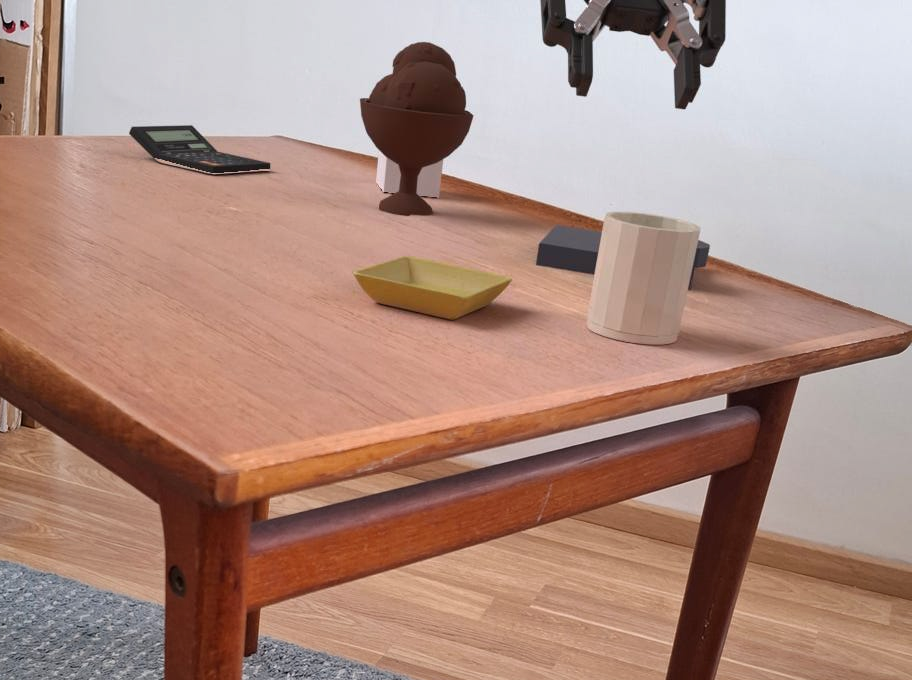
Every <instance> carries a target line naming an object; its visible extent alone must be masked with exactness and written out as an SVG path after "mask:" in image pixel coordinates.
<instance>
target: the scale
mask: <svg viewBox="0 0 912 680" xmlns="http://www.w3.org/2000/svg"><path fill="white" fill-rule="evenodd" d="M601 235H602V231H598V230H591V229H587V228H586V229H585V228H579V227H572V226H566V225H561V224H560V225H559V224H555V226H553V228H551V230H550V231H549V232H548V233H547V234H546V235H545V236H544V237H543V239H541V241H539V244H538V248H537V253H536V260H535V266H538V267H545V268H551V269H558V270H562V271H563V270H565V271H571V272H574V273H575V272H576V273H580V274H581V273H583V274H587V275H595V269H596V263H597V258H598V252H599V246H600V241H601ZM710 247H711V244H709V243H707V242H705V241H703V240H700V239H698V244H697V248H696V253H695V258H694V263H693V267H692V272H691V277H690V282H689V286H688V291H691V288H692V284H693V279H694V273H695V269H699V268H705V267H706V266H707V262H708V258H709V253H710Z"/></svg>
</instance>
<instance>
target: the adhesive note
mask: <svg viewBox="0 0 912 680" xmlns="http://www.w3.org/2000/svg"><path fill="white" fill-rule="evenodd" d="M443 166H444V159H443V160H441V161H439V162H438V163H435V164H432V165H429V166H426V167H423V168H422V169H421V171H420V173H419V175H418V180H417V194H418V195H419V196H420V197H421V196H429V197H428V198H431V197H437V198H436V199H440V194H441V193H440V192H441V184H442V176H443ZM375 177H376V179H375V184H376V183H377V184H378V185H379V187H380V188H381V189H382V190H383V192H389V193H388V194H390V192H391V193H396V192H398V191H399V185H400V178H401V173H400V169H399V165H398V164H396V163H395V162H393V161H392V160H390V159H388V158H387V157H386V156H385V155H384V154H383V153H382V152H380V151H379V150H378V156H377V166H376V176H375ZM379 187H378V188H379ZM380 188H379V189H380ZM381 189H380V190H381ZM383 192H382V193H383Z"/></svg>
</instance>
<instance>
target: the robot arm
mask: <svg viewBox="0 0 912 680" xmlns="http://www.w3.org/2000/svg"><path fill="white" fill-rule="evenodd" d="M583 1H584V3H585V4H586V7H585V9H584V10H583V11H582V13H580V15H579V16H578V17H577V19H576V20H572V19H570V18H568V17H567V5H566V0H540V1H539V2H540V16H541V17H540V19H541V33H542V34H541V36H542V42H543V44H544V45H545V46H547V47H550V48H552V47H553V48H554V47H556V46H560V47H562V48H563V49H565V51H566V53H567V82H568V84H569V86H570V88H574V89H575V95H576V96H578V97H585V98H586V97H588V94H589V91H590V88H591V85H592V82H593V77H594V42H595V40H596V39H597V37H599V35H600V34H601V33H602V31H603V30H604V29H605V27H607V28H608V30H609V32H617V33H623V32H631V33H634V34H637V35H638V36H647V37H651V39H652V40H653V42H654V44H655V45H656V47H657V49H659V50H660V52H666V53H667V54H668V56H669V57H670V59H671V61H672V62H673V63H674V65H675V66H674V68H673V91H674V95H673V96H674V108H675V109H677V110H686V109H687V107H688V106H689V103H690V104H692V103H693V102H694V100H695V97H696V96H697V94H698V92H699V89H700V87H701V85H702V75H701V66H702V67H704V68H712V67H713V66H714V64H715V62H716V60H717V56H718V55H719V53H720V50H721V48H722V47H723V46H724V43H725V41H726V36H727V35H726V33H727V31H726V29H727V28H726V26H727V25H726V24H727V21H726V20H727V18H726V17H727V10H726V9H727V0H583ZM685 4H687V5H689V6H690V7H691V10H692V11H691V12H692V13H693V15H694V16H693V19H694V21H695V22H698V31H697V30H696V28H695V27H694V26H693V24H692V23H691V21H690V12H689V10H688V8H687V7H686V5H685Z"/></svg>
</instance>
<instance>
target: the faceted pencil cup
mask: <svg viewBox="0 0 912 680" xmlns="http://www.w3.org/2000/svg"><path fill="white" fill-rule="evenodd" d="M601 232H602V235H601V241H600V246H599V252H598V258H597V263H596V269H595V275H594V274H593V275H594V276H593V281H592V286H591V292H590V298H589V303H588V310H587V315H586V324H585V325H586V328H587V329H588V330H589V331H591V332H593V333H595V334H597V335H599V336H602V337H605V338H608V339H612V340H616V341H620V342H626V343H631V344H637V345H651V346H662V345H669V344H674V343H676V342H677V340H678V339H679V333H680V328H681V325H682V319H683V313H684V311H685V304H686V300H687V295H688V291H689V290H688V286H689V282H690V277H691V272H692V267H693V263H694V258H695V253H696V248H697V244H698V240H700V234H701V226H699V225H697V224H695V223H693V222H690V221H686V220H682V219H679V218H675V217H669V216H664V215H659V214H652V213H644V212H635V211H609V212H606V213H605V215H604V218H603V223H602V230H601Z"/></svg>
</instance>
